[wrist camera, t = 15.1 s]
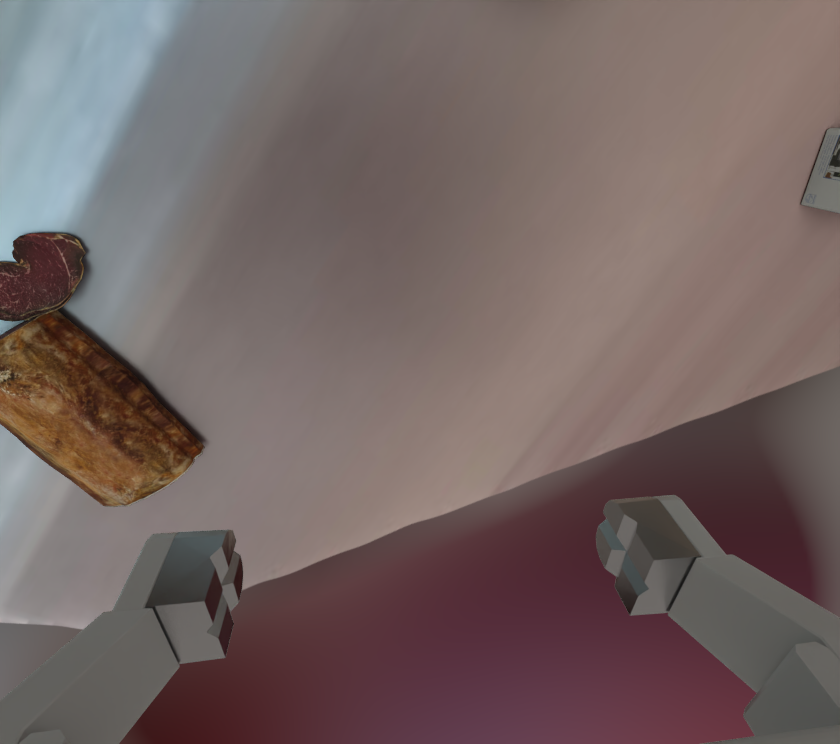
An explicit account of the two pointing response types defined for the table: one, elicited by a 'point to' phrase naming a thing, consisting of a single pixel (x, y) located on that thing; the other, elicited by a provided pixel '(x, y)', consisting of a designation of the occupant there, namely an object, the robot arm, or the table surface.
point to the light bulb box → (826, 175)
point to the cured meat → (79, 386)
